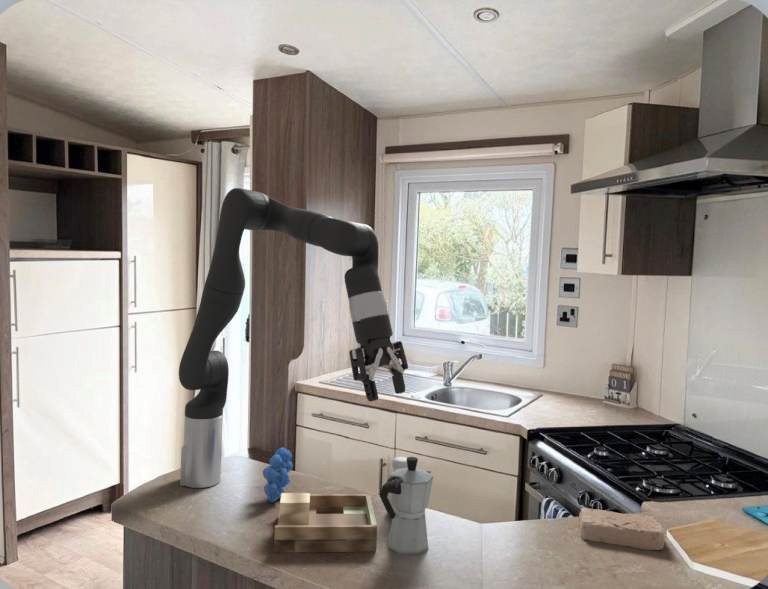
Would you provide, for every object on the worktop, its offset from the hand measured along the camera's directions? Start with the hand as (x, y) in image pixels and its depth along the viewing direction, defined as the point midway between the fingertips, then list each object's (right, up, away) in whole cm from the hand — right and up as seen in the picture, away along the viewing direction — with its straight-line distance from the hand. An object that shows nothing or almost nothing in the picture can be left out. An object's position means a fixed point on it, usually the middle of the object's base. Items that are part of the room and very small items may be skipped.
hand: (387, 396), depth 110 cm
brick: (+51, -33, +12) cm, 62 cm away
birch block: (-19, -27, +6) cm, 34 cm away
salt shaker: (+3, -30, +18) cm, 36 cm away
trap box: (-13, -30, +7) cm, 33 cm away
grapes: (-27, -29, +24) cm, 46 cm away
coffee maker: (+3, -31, +3) cm, 32 cm away
